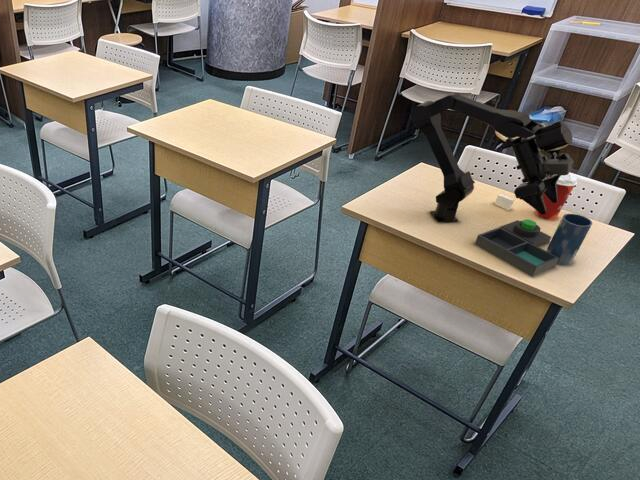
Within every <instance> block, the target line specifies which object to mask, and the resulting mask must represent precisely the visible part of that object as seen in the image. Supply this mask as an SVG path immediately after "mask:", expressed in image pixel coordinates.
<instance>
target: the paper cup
mask: <svg viewBox="0 0 640 480" xmlns="http://www.w3.org/2000/svg"><path fill="white" fill-rule="evenodd" d="M576 185H578V178H577V176H576V175H574V174H572V173H569V174H568V175H561V176H560V178H559V179H558V181H557V196H558V202H556V203H553V202H552V201H551V200H550V199H549V198H548V197H547V196H546V195H545V193H544V194H543V199H544V203H545V208H546V214H543V215H542V214H540V213H539V212H538V211H537V210H536V216H538V217H539V218H540V219H543V220H547V221H548V220H549V221H554V220H556V219H557V217H558V216H559V215H560V213H561V211H562V209H563V207H564V206H565V203H566V202H567V201H568V198H569V196H570V195H571V193H572V191H573V190H574V188H575V186H576Z"/></svg>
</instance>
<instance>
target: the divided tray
mask: <svg viewBox="0 0 640 480" xmlns="http://www.w3.org/2000/svg"><path fill="white" fill-rule="evenodd" d="M474 245H475V246H477V247H478V248H481V249H482V250H484V251H486V252H488V253H490V254H491V255H493V256H495V257H497V258H498V259H499V260H501V261H504V262H505V263H507V264H509V265H510V266H513V267H514V268H516V269H518V270H519V271H521V272H523V273H524V274H527V275H529V276H530V277H532V278H533V277H535V276H537V275H540V274H542V273H544V272H547V271H549V270H552V269H554V268H555V267H556V265H557V264H556V263H557V261H558V259H559V257H557V256H555V255H553V254H551V253H549V252H547V251H546V249H544V248H542V247H540V246H539V247H537V246H536V245H534V244H532V243H530V242H528V241H526V240H524V239H522V238H520V237H518V236H516V235H514V234H512V233H510V232H508V231H506V230H505V229H503V228H501V227H500V226H499V227H497V228H494V229H491V230H488V231H485V232H481V233H479V234H477V237H476V239H475V242H474Z"/></svg>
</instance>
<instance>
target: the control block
mask: <svg viewBox="0 0 640 480" xmlns="http://www.w3.org/2000/svg"><path fill="white" fill-rule="evenodd" d="M522 222H523V220H514V221H511V222H509V223H505V224H503V225H500V226H499V227H501V228H503V229H505V230H506V231H508V232H510V233H512V234H514V235H516V236H518V237H520V238H522V239H524V240H526V241H528V242H530V243H532V244H534V245H536V246H537V247H539V248H540V247H541V246H544V245H547V244H550V242H551V240H552V236H551V235H549V234H548V233H547V234H546V233H545V232H543V231H541V229H542V228H541V227H540V226H539V225H538V224H536V227H535V229H534V230H527V229H524V228H522V227H521V224H522Z"/></svg>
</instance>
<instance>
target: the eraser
mask: <svg viewBox="0 0 640 480" xmlns="http://www.w3.org/2000/svg"><path fill="white" fill-rule="evenodd" d="M514 202H515V199H514V198H511V197H509V196H506V195H504V194H501V193H498V195H497V197H496V199H495V202H494V205H495V206H498V207H499V208H502V209H504V210H505V211H506V210H507V211H510V210H511V209H512V207H513V204H514Z"/></svg>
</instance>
